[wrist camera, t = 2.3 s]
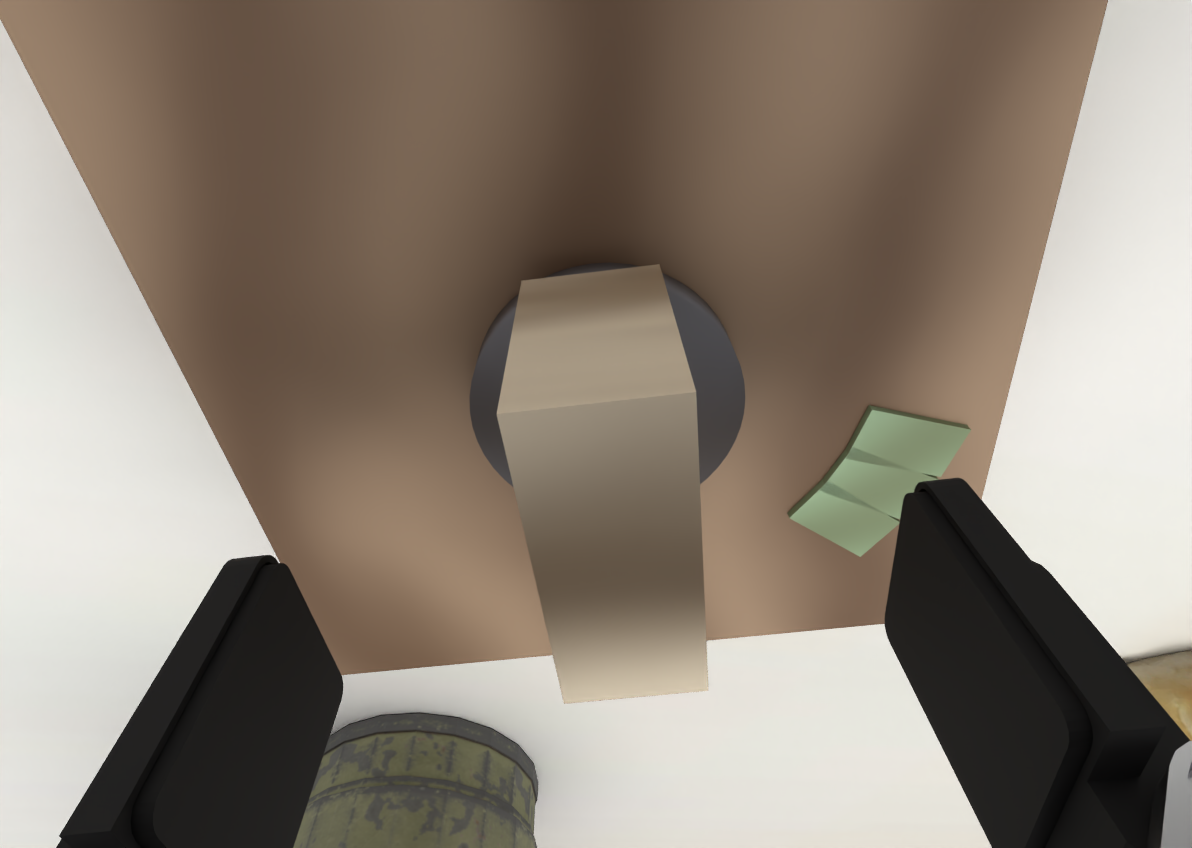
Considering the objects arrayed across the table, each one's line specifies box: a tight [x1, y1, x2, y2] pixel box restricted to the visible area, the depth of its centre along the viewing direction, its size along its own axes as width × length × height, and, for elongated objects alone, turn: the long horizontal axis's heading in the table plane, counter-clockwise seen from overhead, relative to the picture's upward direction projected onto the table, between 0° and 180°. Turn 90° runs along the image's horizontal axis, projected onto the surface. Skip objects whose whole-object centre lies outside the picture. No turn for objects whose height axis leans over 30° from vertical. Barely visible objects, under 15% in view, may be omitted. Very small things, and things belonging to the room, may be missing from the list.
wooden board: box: [0, 0, 1108, 675], centre depth 15 cm, size 18×18×2 cm
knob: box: [469, 263, 745, 704], centre depth 14 cm, size 12×6×6 cm, turn 7°
